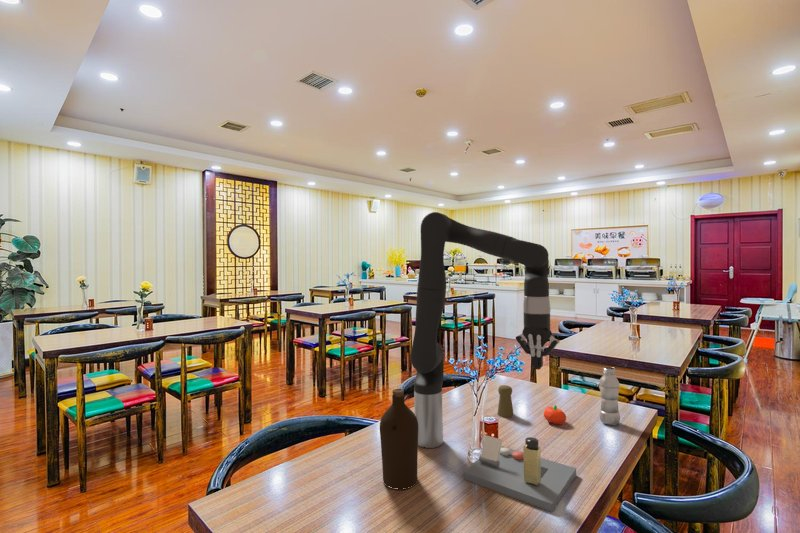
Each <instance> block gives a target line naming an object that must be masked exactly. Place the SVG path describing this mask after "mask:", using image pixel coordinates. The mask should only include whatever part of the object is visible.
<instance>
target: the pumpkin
mask: <svg viewBox="0 0 800 533" xmlns="http://www.w3.org/2000/svg"><path fill="white" fill-rule="evenodd" d="M543 417H544V419H545V420H547V421H548V422H549V423H551V424H554V425H561V424H564V423H565V422H566V421H567V416H566V413H565V412H564V411H563V410H562V409H560V408H558V406H557V405H555V404H554V405H553V406H548V407H546V408H545V409H544V412H543Z"/></svg>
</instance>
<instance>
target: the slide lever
mask: <svg viewBox="0 0 800 533" xmlns="http://www.w3.org/2000/svg"><path fill="white" fill-rule="evenodd" d="M522 452H523V453H524V481H525V482H528V483H531V484H534V485H537V486H538V485H539V483H540V482H541V458H542V456H541V446H539V440H538V439H537V438H536V437H526V438H525V445H523V450H522Z"/></svg>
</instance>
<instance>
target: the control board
mask: <svg viewBox="0 0 800 533" xmlns="http://www.w3.org/2000/svg"><path fill="white" fill-rule="evenodd" d="M499 462H500V465H499V467H496V466H493V465H490V464H487V463H484V462H481V461H479V458H477V459H476V460H475V461H474V462H473V463H472V464H470V466H468V467H467V468H466V469H465V470H464V471H463V480H465V481H468V482H469V483H470V482H471V483H473V484H476V485H478V486H482V487H483V488H486V489H489V490H492V491H495V492H497V493H500V494H502V495H504V496H508V497H510V498H513V499H515V500H518V501H521V502H524V503H527V504H529V505H531V506H534V507H538V508H539V509H542V510H545V511H548V512H550V513H553V512H554V511H555V509H556V508H557V507H558V505H559V503H560V501H561V500H562V498H563V497H564V495H565V493H566V492H567V491H568V489H569V488H570V486H571V484H572V483H573V481H574V480H575V478H576V476H577V468H576V467H574V466H571V465H566V464H563V463H561V462H556V461H553V460H549V459H546V458H543V457H541V482H540V483H539V485H538V486H537V485H534V484H531V483H528V482H525V481H524V451H519V450H516V449H513V448H509V447H506V446H503V445H501V450H500V455H499Z"/></svg>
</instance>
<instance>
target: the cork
mask: <svg viewBox="0 0 800 533" xmlns="http://www.w3.org/2000/svg"><path fill="white" fill-rule="evenodd" d="M497 392H498V394H499V397H498V398H499V399H498V406H497V407H498V408H497V416H499V417H500V418H507V419H509V418H513V417H514V415H515V413H514V408H513V401H512V394H513V388H512V387H511V386H510V385H507V384H503V385H500V386H498V389H497Z"/></svg>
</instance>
